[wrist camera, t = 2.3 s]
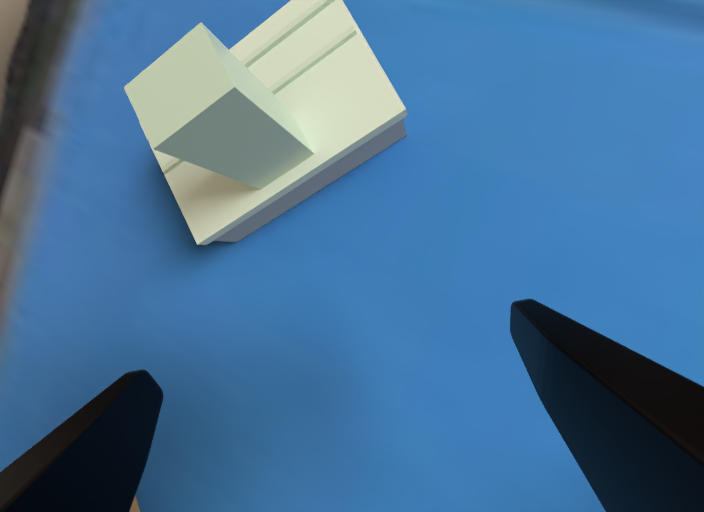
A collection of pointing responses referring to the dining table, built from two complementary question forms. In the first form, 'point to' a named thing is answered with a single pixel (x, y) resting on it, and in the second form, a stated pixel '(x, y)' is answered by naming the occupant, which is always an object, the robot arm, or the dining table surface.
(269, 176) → the pale green grooved stand
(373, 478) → the dining table surface
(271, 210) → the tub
